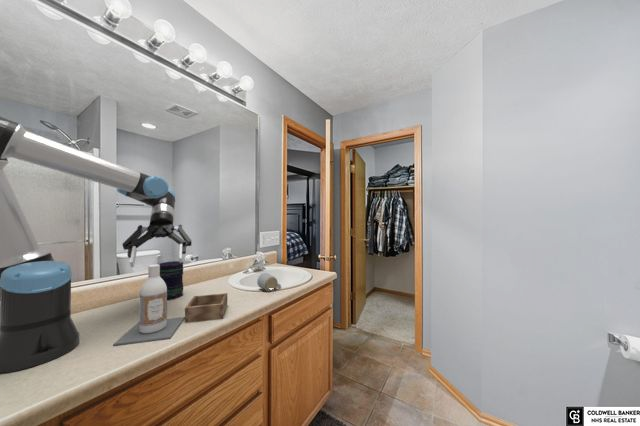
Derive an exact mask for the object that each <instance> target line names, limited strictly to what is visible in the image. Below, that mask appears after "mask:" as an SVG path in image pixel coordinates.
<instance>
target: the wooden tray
mask: <svg viewBox="0 0 640 426" xmlns="http://www.w3.org/2000/svg"><path fill="white" fill-rule="evenodd" d="M227 309H228V293H226V292H223V293H215V294H203V295H202V294H201V295H194V296H193V297H192V298H191V299H190V301H188V303H187V305H185V307H184V317H185V319H184V323H186V324H187V323H196V322H203V321H213V320H221V319H222V320H223V319H224V317H225V314H226V311H227Z"/></svg>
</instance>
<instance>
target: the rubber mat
mask: <svg viewBox="0 0 640 426" xmlns="http://www.w3.org/2000/svg"><path fill="white" fill-rule="evenodd" d="M184 321H185V316H181V317H180V316H178V317H170V318H169V317H168V318H167V325H166V327H165V328H163V329H162V330H160V331H157V332H154V333H148V334H144V333H141V332H140V324H139V323H140V321H138V322H136V324H134V325H133V326H132V327H131V328H130V329H129V330H128V331H127V332H125V333H124V334H123V335H122V336H121V337H120V338H118V339H117V340H116V341H115V342H114V343H113V344H112V346H113V347H116V346H117V347H118V346H124V345H133V344H139V343H147V342H149V343H150V342H155V341H163V340H170V339H172V338H173V336H174V335H175V333H176V332H177V331H178V329H179V328H180V326H181V325H182V323H183V322H184Z"/></svg>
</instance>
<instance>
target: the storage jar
mask: <svg viewBox="0 0 640 426" xmlns="http://www.w3.org/2000/svg"><path fill="white" fill-rule="evenodd" d="M158 264H159V265H160V277H161V278H162V279H163V281H164V282H165V284H166V287H167V301H172V300H177V299H180V298H182V297H183V296H184V282H183V279H184V278H183V275H184V261H182V263H180V262H179V260H177V261H176V260H175V261H174V260H173V261H165V262H160V263H158Z"/></svg>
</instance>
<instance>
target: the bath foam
mask: <svg viewBox="0 0 640 426" xmlns="http://www.w3.org/2000/svg"><path fill="white" fill-rule="evenodd" d="M159 264H160V263H158V264H157V263H156V264H155V263H154V264H150V265H148V266H147V267H148V268H147V269H148V274H147V279H145V281H144V283H143V284H142V286H141V288H140V292H139V322H140V323H139V324H140V332H141V333H144V334H148V333H154V332H157V331H160V330H162V329H163V328H165V327H166V325H167V319H168V316H167V315H168V311H167V310H168V300H167V287H166V284H165V282H164V281H163V279H162V278H161V277H160V265H159Z"/></svg>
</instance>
